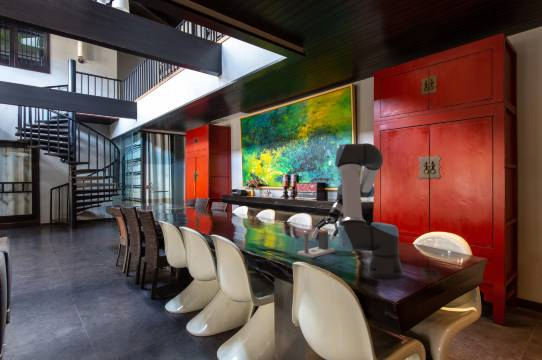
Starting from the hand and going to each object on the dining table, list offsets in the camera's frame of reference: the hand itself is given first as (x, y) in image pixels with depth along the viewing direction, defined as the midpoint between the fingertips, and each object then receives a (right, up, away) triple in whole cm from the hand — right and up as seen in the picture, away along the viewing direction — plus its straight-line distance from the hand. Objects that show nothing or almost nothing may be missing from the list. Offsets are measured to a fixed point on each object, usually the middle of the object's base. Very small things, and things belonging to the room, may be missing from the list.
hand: (321, 238), depth 179 cm
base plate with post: (-4, -9, -4) cm, 10 cm away
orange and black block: (+1, -6, +1) cm, 6 cm away
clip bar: (-13, +5, -3) cm, 14 cm away
